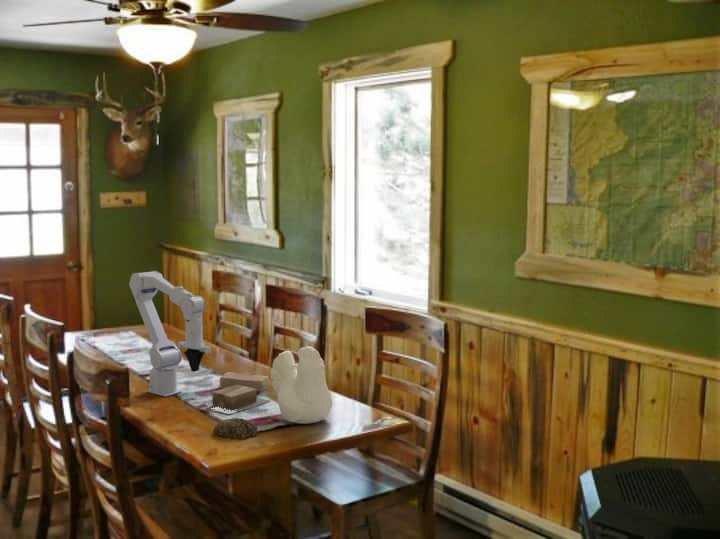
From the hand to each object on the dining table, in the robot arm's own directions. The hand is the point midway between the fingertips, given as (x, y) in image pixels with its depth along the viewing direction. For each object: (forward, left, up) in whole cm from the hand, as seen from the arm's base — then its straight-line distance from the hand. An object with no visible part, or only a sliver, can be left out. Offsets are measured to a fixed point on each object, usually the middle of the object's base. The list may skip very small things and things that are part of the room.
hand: (194, 371), depth 268 cm
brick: (+1, +23, -11) cm, 26 cm away
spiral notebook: (+15, +6, -10) cm, 19 cm away
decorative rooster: (+39, +9, -11) cm, 42 cm away
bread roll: (+34, -14, -11) cm, 39 cm away
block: (+9, +6, -8) cm, 13 cm away
